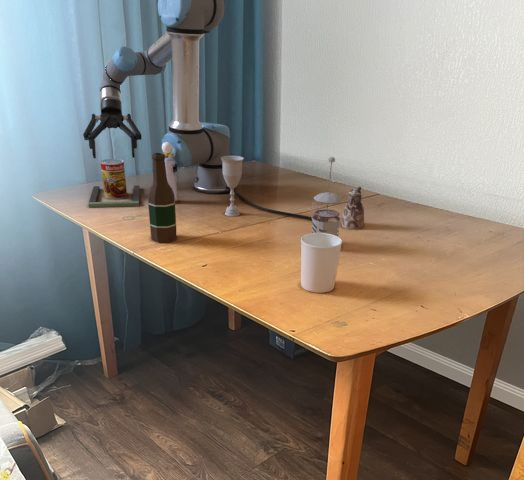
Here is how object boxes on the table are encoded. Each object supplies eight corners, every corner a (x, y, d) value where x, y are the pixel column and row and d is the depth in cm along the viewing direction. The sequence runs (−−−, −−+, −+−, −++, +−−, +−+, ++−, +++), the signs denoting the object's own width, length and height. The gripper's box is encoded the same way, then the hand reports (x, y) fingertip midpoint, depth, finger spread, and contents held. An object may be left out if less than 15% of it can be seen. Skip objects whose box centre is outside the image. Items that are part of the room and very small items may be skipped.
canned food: (113, 200, 192) (109, 165, 185) (100, 195, 196) (95, 161, 190) (131, 196, 197) (128, 161, 190) (118, 191, 201) (114, 157, 195)
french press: (318, 253, 155) (326, 162, 141) (297, 240, 163) (303, 153, 150) (347, 248, 159) (357, 159, 145) (325, 235, 167) (333, 150, 154)
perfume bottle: (160, 203, 190) (156, 143, 179) (163, 199, 195) (159, 139, 184) (177, 204, 190) (174, 143, 179) (180, 199, 195) (176, 140, 184)
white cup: (295, 277, 140) (298, 232, 134) (333, 277, 141) (337, 232, 134) (300, 294, 132) (304, 247, 125) (340, 294, 132) (346, 247, 126)
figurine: (336, 225, 176) (340, 187, 170) (349, 220, 180) (353, 183, 174) (354, 230, 172) (359, 192, 166) (367, 225, 176) (372, 188, 170)
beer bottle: (182, 236, 163) (177, 152, 151) (169, 244, 157) (164, 158, 144) (158, 232, 165) (152, 149, 153) (145, 240, 159) (138, 155, 147)
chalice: (244, 211, 185) (245, 156, 176) (241, 217, 180) (242, 161, 170) (223, 210, 186) (222, 155, 176) (219, 216, 180) (219, 159, 171)
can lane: (94, 189, 202) (93, 186, 202) (139, 188, 205) (139, 185, 205) (88, 207, 184) (88, 204, 183) (139, 206, 187) (138, 202, 186)
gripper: (146, 111, 206) (149, 161, 201) (77, 111, 202) (79, 162, 197) (145, 97, 199) (148, 149, 194) (73, 97, 195) (75, 150, 190)
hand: (113, 156), depth 196 cm, fingers open, 13 cm apart
